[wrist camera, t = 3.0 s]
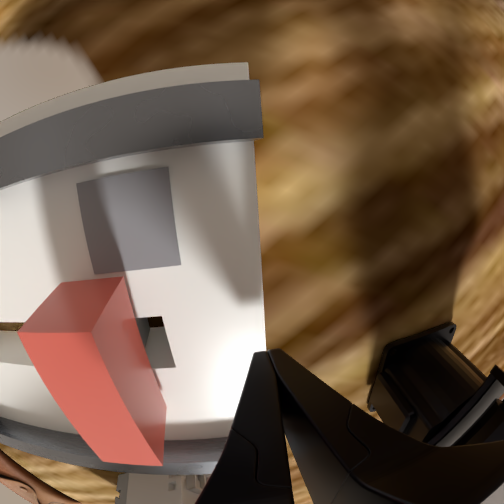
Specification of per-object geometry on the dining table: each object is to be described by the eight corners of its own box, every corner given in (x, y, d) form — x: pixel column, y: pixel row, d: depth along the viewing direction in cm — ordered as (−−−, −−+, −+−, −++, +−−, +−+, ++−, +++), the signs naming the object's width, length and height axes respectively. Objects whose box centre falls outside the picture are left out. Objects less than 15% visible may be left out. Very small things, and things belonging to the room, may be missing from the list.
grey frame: (250, 92, 7) (259, 79, 6) (270, 444, 13) (275, 465, 11) (-99, 210, 5) (-114, 216, 4) (-5, 424, 10) (-11, 438, 9)
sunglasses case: (86, 505, 21) (70, 532, 16) (69, 487, 24) (54, 511, 19) (-19, 432, 14) (-38, 463, 9) (-20, 418, 18) (-38, 445, 13)
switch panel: (237, 85, 10) (248, 61, 7) (261, 415, 16) (271, 453, 13) (-71, 183, 7) (-102, 193, 4) (14, 408, 14) (2, 434, 11)
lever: (140, 249, 10) (91, 332, 5) (170, 368, 12) (162, 465, 7) (87, 256, 10) (16, 332, 5) (125, 370, 12) (102, 461, 7)
